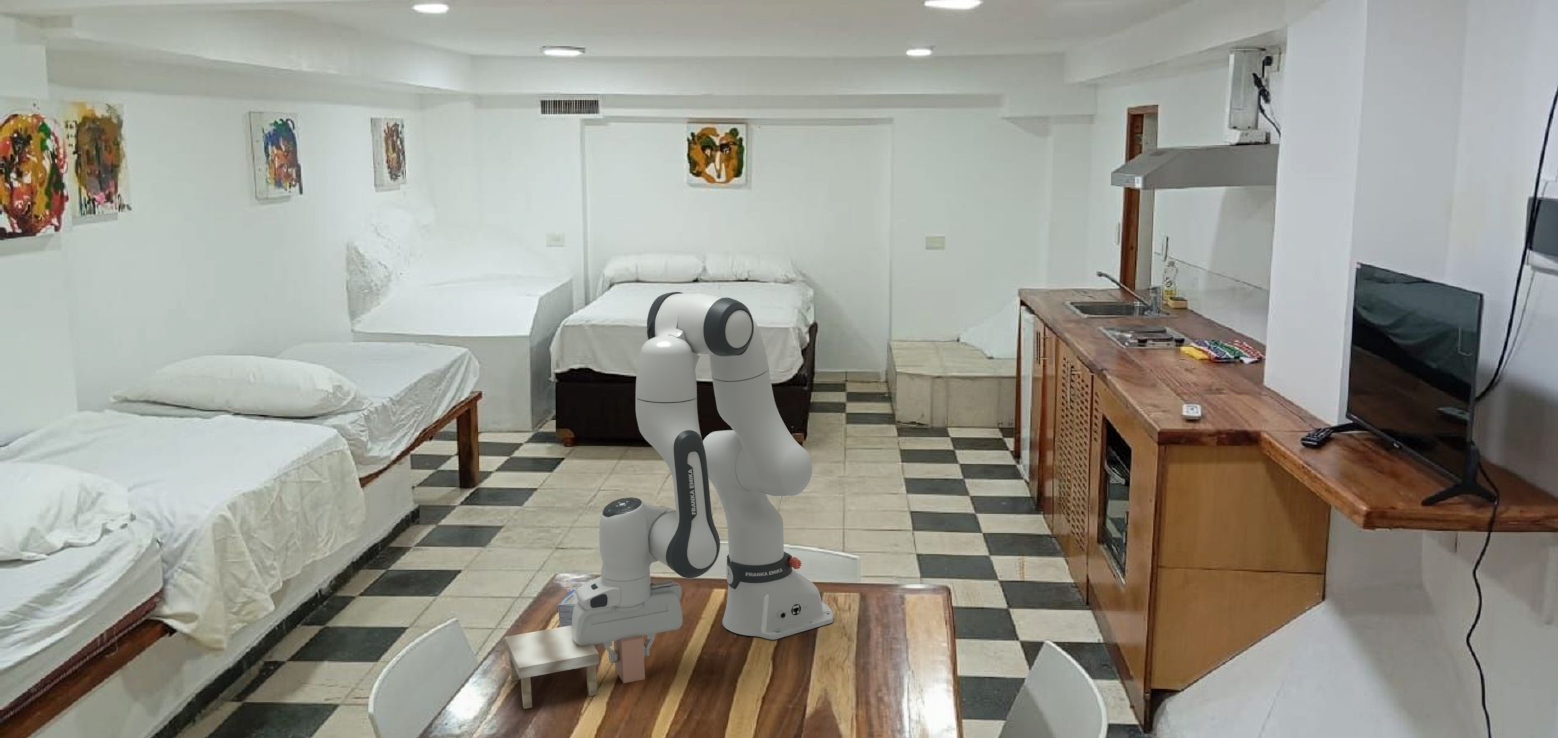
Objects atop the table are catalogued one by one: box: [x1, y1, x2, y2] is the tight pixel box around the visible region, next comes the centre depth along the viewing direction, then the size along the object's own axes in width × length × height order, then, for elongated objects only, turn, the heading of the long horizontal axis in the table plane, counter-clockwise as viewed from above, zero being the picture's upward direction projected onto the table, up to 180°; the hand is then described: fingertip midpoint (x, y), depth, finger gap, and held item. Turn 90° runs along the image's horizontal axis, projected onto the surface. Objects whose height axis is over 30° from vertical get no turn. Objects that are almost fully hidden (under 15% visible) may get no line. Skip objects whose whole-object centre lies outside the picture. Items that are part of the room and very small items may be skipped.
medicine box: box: [557, 588, 578, 627], centre depth 239 cm, size 8×4×9 cm, turn 168°
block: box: [613, 636, 646, 684], centre depth 223 cm, size 4×6×8 cm, turn 22°
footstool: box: [504, 625, 600, 710], centre depth 218 cm, size 14×14×8 cm
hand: (629, 658), depth 223 cm, fingers open, 4 cm apart
